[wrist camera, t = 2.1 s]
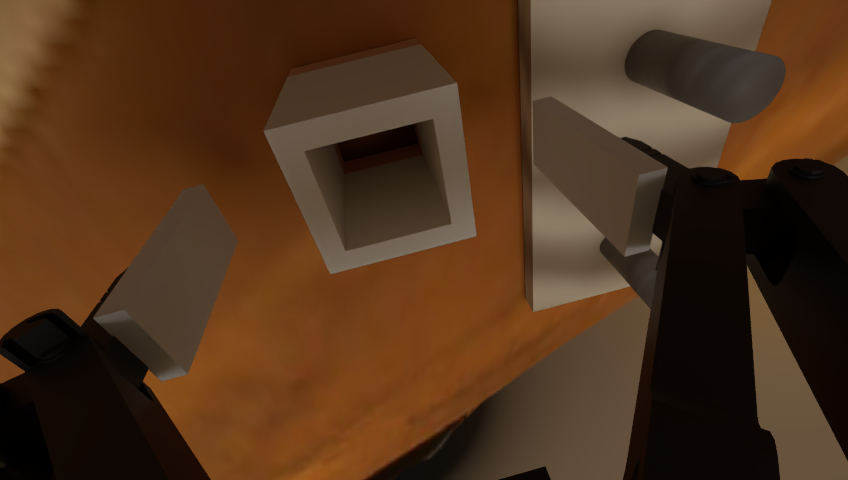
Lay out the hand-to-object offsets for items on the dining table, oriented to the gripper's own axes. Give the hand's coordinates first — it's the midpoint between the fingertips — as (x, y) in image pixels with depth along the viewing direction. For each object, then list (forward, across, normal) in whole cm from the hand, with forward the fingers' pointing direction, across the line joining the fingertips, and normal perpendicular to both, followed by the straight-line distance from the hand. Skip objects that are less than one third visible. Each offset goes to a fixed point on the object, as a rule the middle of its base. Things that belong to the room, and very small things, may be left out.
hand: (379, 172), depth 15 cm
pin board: (+6, +14, -6) cm, 16 cm away
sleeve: (+6, 0, 0) cm, 6 cm away
